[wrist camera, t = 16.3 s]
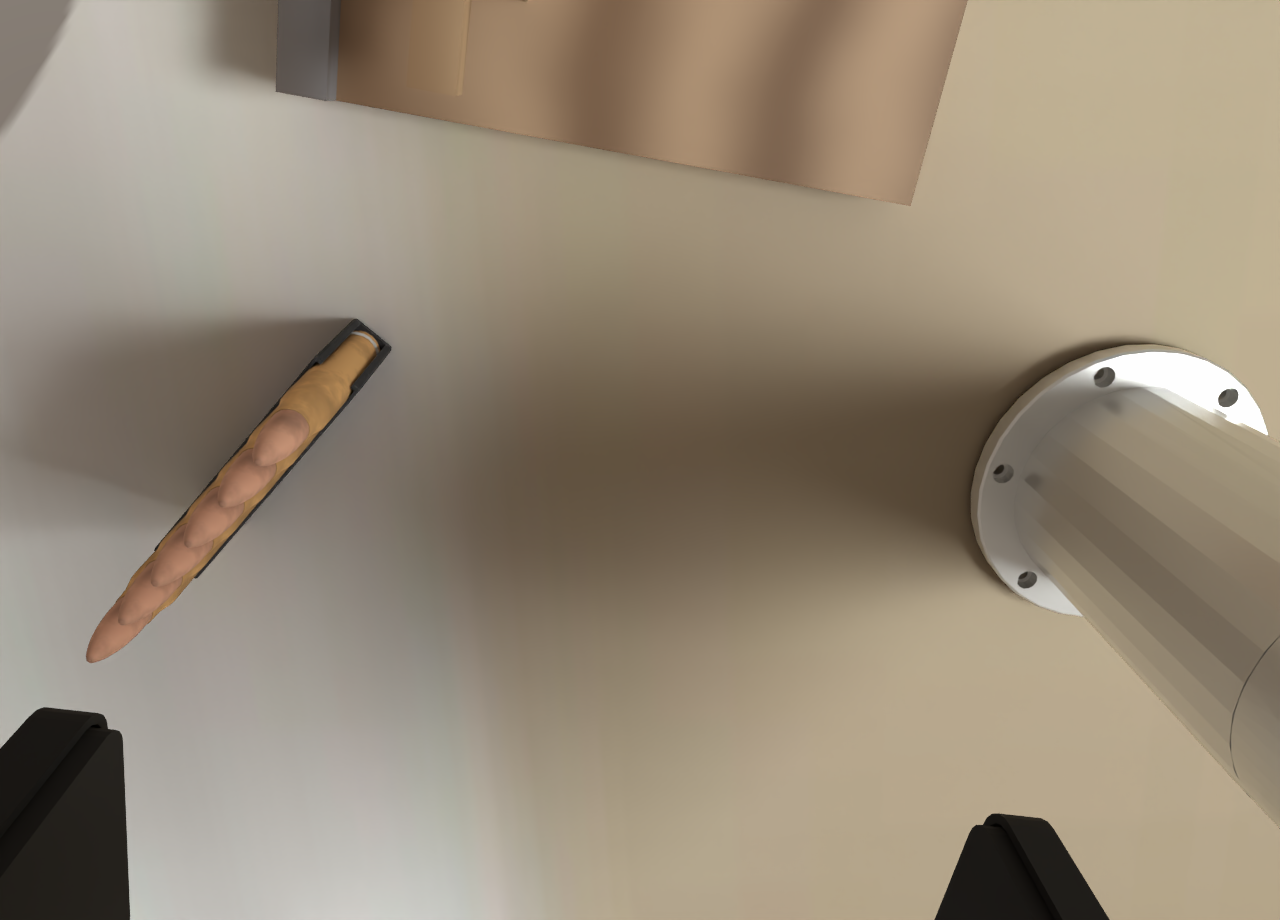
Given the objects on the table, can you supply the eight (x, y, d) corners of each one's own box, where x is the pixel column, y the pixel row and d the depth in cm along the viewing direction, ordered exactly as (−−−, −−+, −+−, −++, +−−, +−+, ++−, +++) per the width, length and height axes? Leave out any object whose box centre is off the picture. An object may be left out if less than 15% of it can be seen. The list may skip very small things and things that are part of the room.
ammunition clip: (356, 316, 36) (248, 418, 25) (394, 347, 37) (305, 460, 26) (203, 498, 39) (45, 663, 28) (240, 524, 39) (99, 696, 28)
